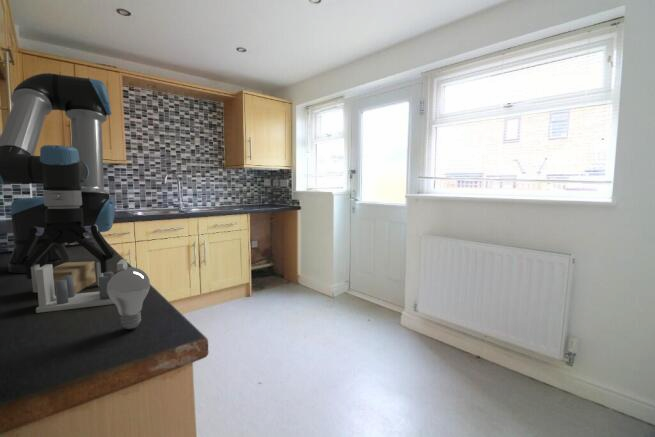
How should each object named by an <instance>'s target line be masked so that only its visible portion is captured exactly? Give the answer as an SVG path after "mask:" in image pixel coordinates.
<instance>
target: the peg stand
mask: <svg viewBox="0 0 655 437" xmlns="http://www.w3.org/2000/svg"><path fill="white" fill-rule="evenodd" d="M127 267H128V259H127V258H122V259H120V260H119V261H118V262H117V263H116V272H117V271H119V270H120V269H123V268H127ZM113 274H114V271H107V272H105V273H103V276H102V277H99V286H98V288H99V290H98V291H91V292H77V293H75V294H74V282H73V275H66V276H62V280H58V281H55V287H56V296H55V291H54V279H53V267H52V264H47V265H44V266H42V267H40V268H39V269H37V270H36V278H37V289H38V292H37V298H38V306H37V307H36V308H35V312H36V314H38V313H47V312H56V311H65V310H72V309H73V310H74V309H81V308H91V307H98V306H99V307H101V306H106V305H107V306H108V305H109V306H110V305H115V304H114V302H113V301H112V300H111V299H110V298H109V296H108V294H107V284H108V281H109V279H110V278H111V276H112V275H113Z"/></svg>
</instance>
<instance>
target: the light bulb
mask: <svg viewBox="0 0 655 437" xmlns="http://www.w3.org/2000/svg"><path fill="white" fill-rule="evenodd" d="M150 288H151V281H150V278H149V275H148V274H147V273H146V272H145V271H144V270H143V269H141V268H137V267H133V266H131V267H130V266H127V268H123V269H120V270H119V271H117V270H116V271H115V272H113V275H112V276H111V278H110V279H109V281H108V284H107V294H108V296H109V298H110V299H111V300H112V301H113V302H114V304H113V305H115V306H116V308H117V312H118V314H119V315H120V326H122V327H123V328H124V329H126V330H129V331H133V330H135V329H136V328H137V327H138V326H139V324H140V323H141V321H142V315H141V313H142V312H141V311H142V309H143V304H144V301H145V299H146V297H147V295H148V294H149V291H150Z"/></svg>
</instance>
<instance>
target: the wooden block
mask: <svg viewBox="0 0 655 437" xmlns="http://www.w3.org/2000/svg"><path fill="white" fill-rule="evenodd" d="M95 263H96V262H95V261H71V262H66V263H63V264H61V265H58V266H56V267H53V279H54V291H55V296H56V287H55V281H58V280H62V276H66V275H73V282H74V294H78V293H80V291H82V290H84V289H85V288H87V287H89V286H90V285H92V284H94V283H96V282H97V278H96V266H95Z"/></svg>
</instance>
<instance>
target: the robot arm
mask: <svg viewBox="0 0 655 437" xmlns="http://www.w3.org/2000/svg"><path fill="white" fill-rule="evenodd" d="M11 102H12V107H11V109H10V112H9V115H8V117H7V119H6V121H5V124H4V127H3V129H2V132H1V135H0V184H3V185H7V184H8V185H12V184H13V185H15V184H18V185H19V184H24V185H26V184H29V185H30V184H33V185H34V184H36V185H37V184H39V185H42V192H43V196H36V197H27V198H18V199H15V200H13V201H12V202H11V205H10V209H11V210H10V212H11V213H10V216H11V224H12V235H13V236H12V237H13V244H14V245H13V249H12V253H11V255H10V258H9V261H8V264H7V265H8V272H10V273H13V274H26V278H27V280H31V284H32V293H38V289H37V278H36V270H37V269H39V268H40V267H42V266H44V265H47V264H52V267H56V266H58V265H61V264H63V263H66V262H72V260H71V255H70V254H69V251H68V250H67V248H66V246H65V244H74V243H76V244H78V245H80V246H82V247H83V248H84V249H85V250H87V252H89V253H90V254H91V255H93V256H94V257H95V258H96V259H97V262H95V263H96V275H97V278H96V280H97V287H99V277H102V276H103V273H105V272H108V260H110V259H113V258H114V257H115V253H114V251H113V250H112V248H111V247H110V245H109V244H108V242H107V241H106V240H105V238H104V236H103V235H102V234H101V233H105V232H109V231H110V230H111V229H112V227H113V225H114V220H115V212H116V201H115V199H114V198H112V197H111V198H110V193H109V192H108V191H106V190H105V183H104V178H105V177H104V156H103V155H104V154H103V153H104V152H103V128H102V127H103V124H104V123H105V122H106V121H107V120H108V118H107V116H111V115H112V107H111V102H110V98H109V93H108V90H107V86H106V84H105V83H104V82H103V81H102V80H100V79H99V80H98V79H95V78H94V79H93V78H90V77H79V76H74V75H73V76H72V75H66V74H65V75H64V74H56V73H50V72H47V73H45V72H44V73H43V72H42V73H39V74H35V75H32V76H29V77H27V78H25V79H24V80H23V81H21V82H20V83H19V84H17V86H16V87H15V88H14V90H13V92H12V94H11ZM52 111H63V112H64V115H65V116H66V117H67V118H68V119H69V120H70V130H71V131H70V132H71V134H70V135H71V146H68V145H55V144H54V145H53V144H51V145H49V144H47V145H42V146H41V147H40V148H39V152H40V153H39V155H35V152H36V149H37V146H38V143H39V139H40V135H41V133H42V130H43V126H44V122H45V118H46V116H47V115H50V114H51V112H52ZM84 234H90V235H92V237H93V239H94V240H95V242H96V243H97V245H98V247H100V249H101V250H102V251H101V250H100V249H99V248H97V247H96V246H95V245H94V243H91V241H90V240H89V239H88V238H87V237H86V236H85V235H84Z"/></svg>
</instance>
